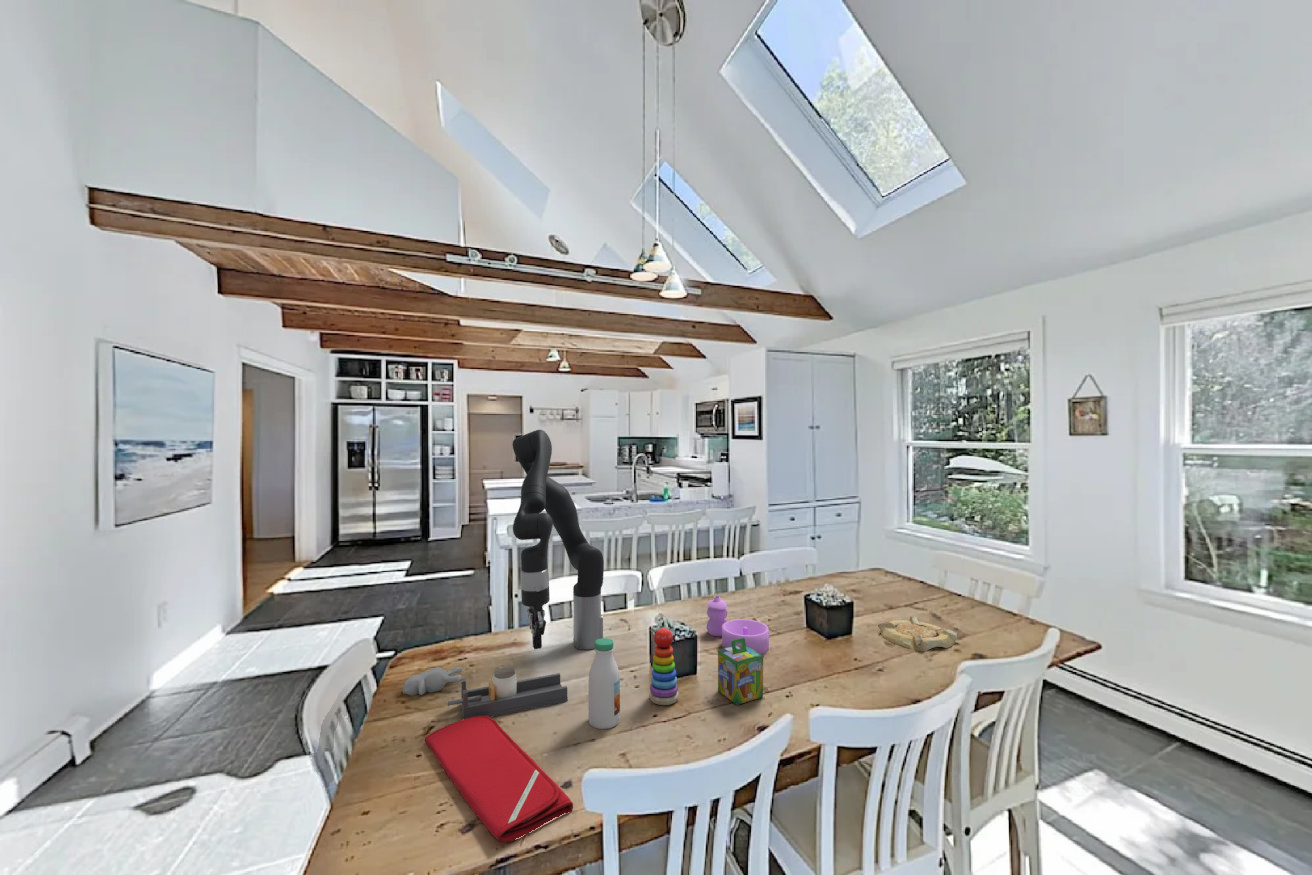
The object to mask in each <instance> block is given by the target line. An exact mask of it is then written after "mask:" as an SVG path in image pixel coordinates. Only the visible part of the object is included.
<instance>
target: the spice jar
mask: <svg viewBox="0 0 1312 875" xmlns="http://www.w3.org/2000/svg"><path fill="white" fill-rule="evenodd" d="M517 674H518V673H517V671H516V669H515V668H513V667H509V666H508V667H507V666H505V667H501V668H498V669H496V670H495V671H494V673H493V674H492V681H493V685H494V692H495V700H499V699H504V698H509V697H514V696H517V681H518V680H517V678H518V676H517Z"/></svg>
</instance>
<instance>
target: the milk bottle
mask: <svg viewBox="0 0 1312 875" xmlns="http://www.w3.org/2000/svg"><path fill="white" fill-rule="evenodd" d="M613 651H614V641H613V639H612V638H608V637H603V638H601V639H598V640H596V641H595V648H594V652H595V655H594V658H593V662H592V664H591V666H590V669H589V672H588V723H589V725H590V726H591V727H592V728H595V729H599V730H608V729H612V728H614V727H616V726H618V724H619V723H620V720H621V692H620V691H621V689H620V688H621V686H620V685H621V680H620V678H621V677H620V671H619V667H618V664H617V662H616V659H615V657H614V654H613Z"/></svg>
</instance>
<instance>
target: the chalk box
mask: <svg viewBox="0 0 1312 875" xmlns="http://www.w3.org/2000/svg"><path fill="white" fill-rule="evenodd" d="M737 643H741V644H742V645H737V646H736V644H737ZM731 644H732V647H728V648H723V647H722V648H721V649H718V650H717V691H718V692H719V693H720V694H722V695H723V696H724V697H726V698H727V699H728V700H730V702H732V703H734V704H735V705H736V706H738V705H741V704H745V703H748V702H751V701H755V700H758V699H759V700H760V699H763V697H764V656H763V654H761V655H760V654H759V653H757V652H756V651H755V650H753V649H751V648H748V647H746V642H745V638H740V639H736V640H732V642H731Z"/></svg>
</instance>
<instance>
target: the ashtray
mask: <svg viewBox="0 0 1312 875" xmlns="http://www.w3.org/2000/svg"><path fill="white" fill-rule="evenodd" d="M877 627H878V628H879V632H880V634H881V635H880V636H881V637H882V638H883V639H884V640H886V641H888V642H890V643H893V644H895V645H899V646H902V647H903V648H905V649H909V650H913V651H917V652H925V651H929V650H930V649H933V648H937V647H939V648H941V647H942V648H945V649H949V648H951V647H952V646H954V645H955V644H956V641H957V639H958V633H957V631H954V630H952V629H950V628H947V627H940V626H938V625H934V624H932V623H927V622H924V621H920V620H919V618H918V617H917V616H915V615H911V616H910V617H909V620H907V619H898V620H897V619H896V620H891V621H886V622H883V623H879V624H877Z"/></svg>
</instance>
